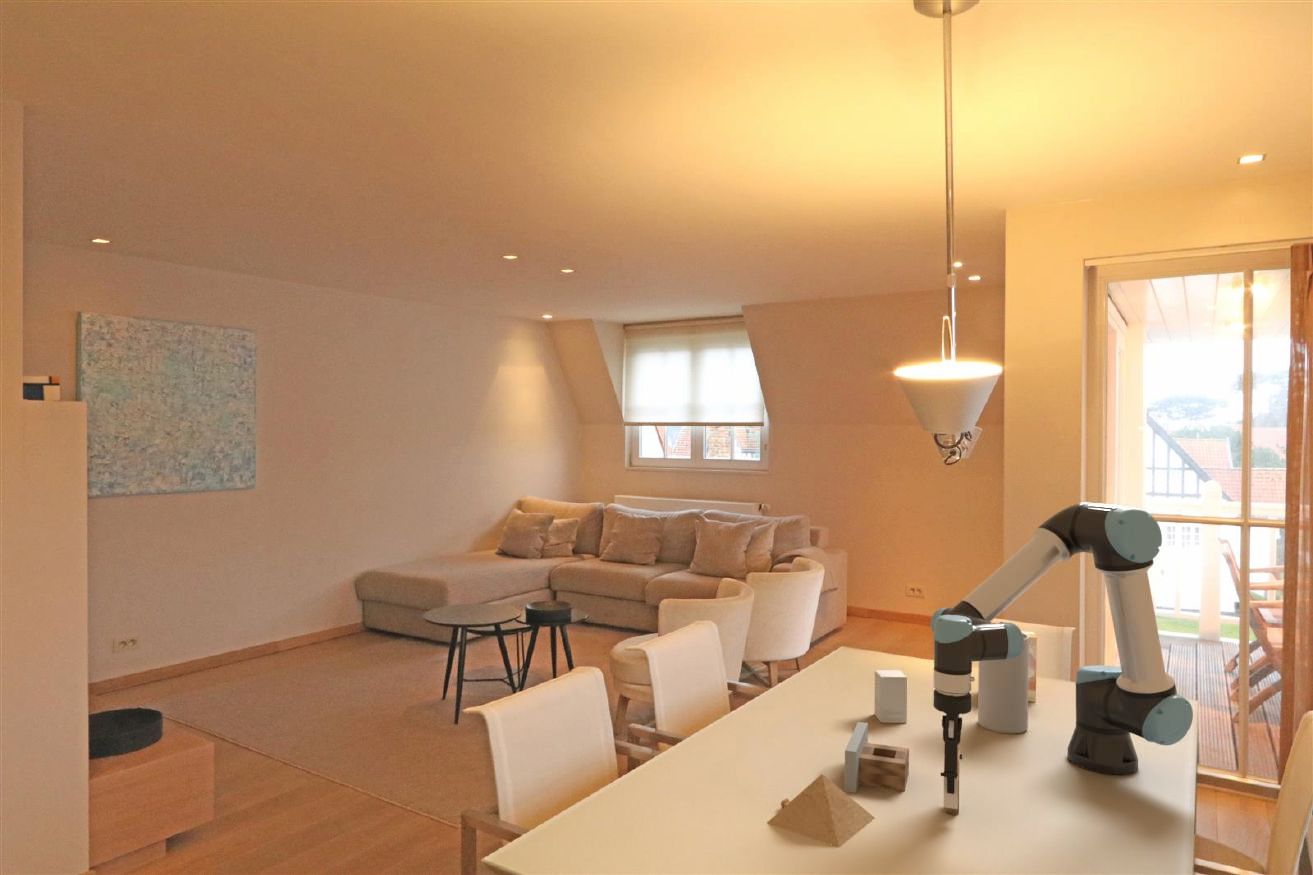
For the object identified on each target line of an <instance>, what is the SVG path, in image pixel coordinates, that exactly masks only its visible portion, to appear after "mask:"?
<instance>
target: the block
mask: <svg viewBox="0 0 1313 875" xmlns="http://www.w3.org/2000/svg"><path fill="white" fill-rule="evenodd" d="M909 760H910V748H909V747H901V746H900V747H899V746H893V745H887V744H878V743H871V742H868V743H865V744H864V746H863V749H862V751H861V754H860V757H859V785H862V786H870V787H877V788H882V787H883V789H888V790H896V791H901V792H902V791H903V792H905V791H906V788H907V783H908V779H909V770H910V769H909V767H910V766H909V765H910V761H909Z"/></svg>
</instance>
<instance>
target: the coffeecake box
mask: <svg viewBox="0 0 1313 875" xmlns="http://www.w3.org/2000/svg"><path fill="white" fill-rule="evenodd" d="M1021 632H1022V633H1024V634H1026V635H1028V636H1029V667H1028V702H1031V703H1033V702H1034V703H1036V702H1037V701H1036V700H1037V657H1038V656H1037V655H1038V654H1037V653H1038V652H1037V651H1038V650H1037V649H1038V648H1037V647H1038V645H1037V644H1038V643H1037V642H1038V641H1037V638H1038V637H1037V636H1036V633H1035V632H1034V631H1023V630H1021Z"/></svg>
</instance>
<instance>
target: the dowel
mask: <svg viewBox="0 0 1313 875" xmlns="http://www.w3.org/2000/svg"><path fill="white" fill-rule="evenodd" d="M943 747H944V751H943V752H944V753H945V745H944V746H943ZM960 748H961V747H960V744H959V745H958V755H957V774H958V809H953V808H946V807H944V806H943V812H944V813H945V814H946V815H951V816H956V815H959V814H960V760H961V759H960V754H961V753H960ZM944 753H943V754H944Z"/></svg>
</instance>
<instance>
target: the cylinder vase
mask: <svg viewBox="0 0 1313 875" xmlns="http://www.w3.org/2000/svg"><path fill="white" fill-rule="evenodd" d="M1022 634H1023V638H1024V649H1023V651H1022V653H1021V654H1020V655H1019V656H1018V657H1016V658H1010V659H1006V660H1003V659H1002V660H986V661H978V677H977V678H978V682H977V683H978V688H977V689H978V693H977V697H978V699H977V702H978V703H977V706H978V707H977V722H978V724H979V725H980V726H981V727H982V728H983V729H986V730H988V731H990V732H995V733H1000V734H1008V735H1010V734H1011V735H1014V734H1021V733H1024V732H1026V731H1027V730H1028V728H1029V701H1028V667H1029V636H1028V635H1026V634H1024V633H1022Z"/></svg>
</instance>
